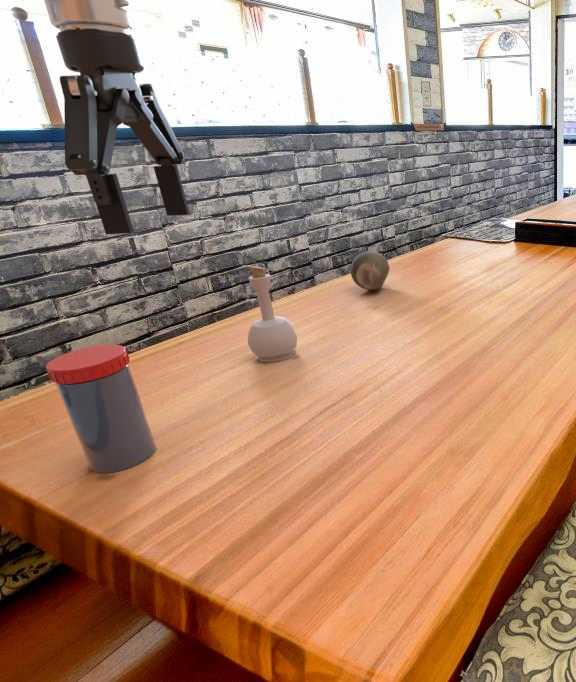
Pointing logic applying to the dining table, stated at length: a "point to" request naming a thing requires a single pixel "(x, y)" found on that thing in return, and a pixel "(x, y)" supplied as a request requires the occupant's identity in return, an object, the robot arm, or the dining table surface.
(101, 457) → the grey storage canister
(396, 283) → the dining table surface
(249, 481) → the dining table surface
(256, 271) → the potion bottle
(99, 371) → the lid
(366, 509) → the dining table surface
